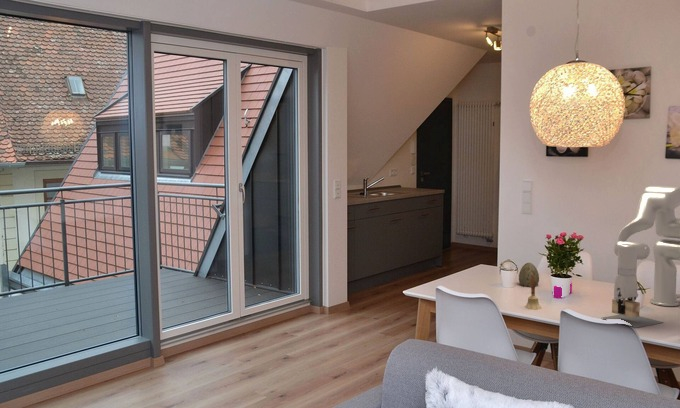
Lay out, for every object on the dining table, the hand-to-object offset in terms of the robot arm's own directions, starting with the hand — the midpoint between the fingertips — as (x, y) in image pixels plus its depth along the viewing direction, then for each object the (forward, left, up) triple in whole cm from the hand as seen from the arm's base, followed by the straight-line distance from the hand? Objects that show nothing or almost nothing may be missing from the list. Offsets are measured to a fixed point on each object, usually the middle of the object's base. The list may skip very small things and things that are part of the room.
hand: (625, 312), depth 271 cm
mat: (-4, 0, -4) cm, 6 cm away
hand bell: (+17, -38, -5) cm, 42 cm away
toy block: (-12, -48, -5) cm, 49 cm away
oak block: (0, 0, -1) cm, 1 cm away
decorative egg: (-13, -71, -4) cm, 72 cm away
